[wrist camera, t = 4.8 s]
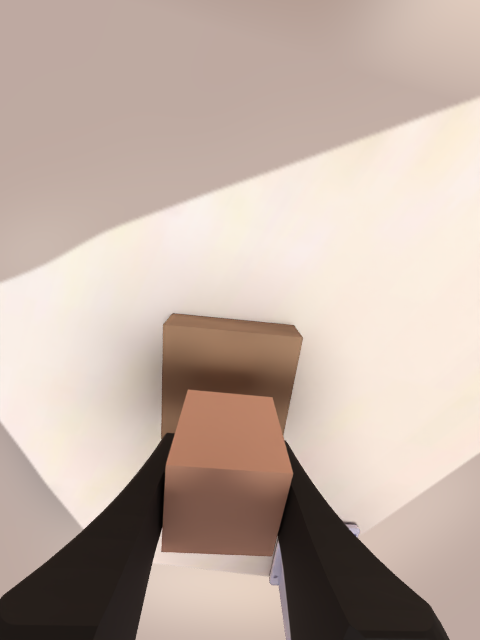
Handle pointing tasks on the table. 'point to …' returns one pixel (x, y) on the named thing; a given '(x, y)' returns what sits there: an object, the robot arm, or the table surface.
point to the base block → (226, 362)
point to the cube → (225, 476)
